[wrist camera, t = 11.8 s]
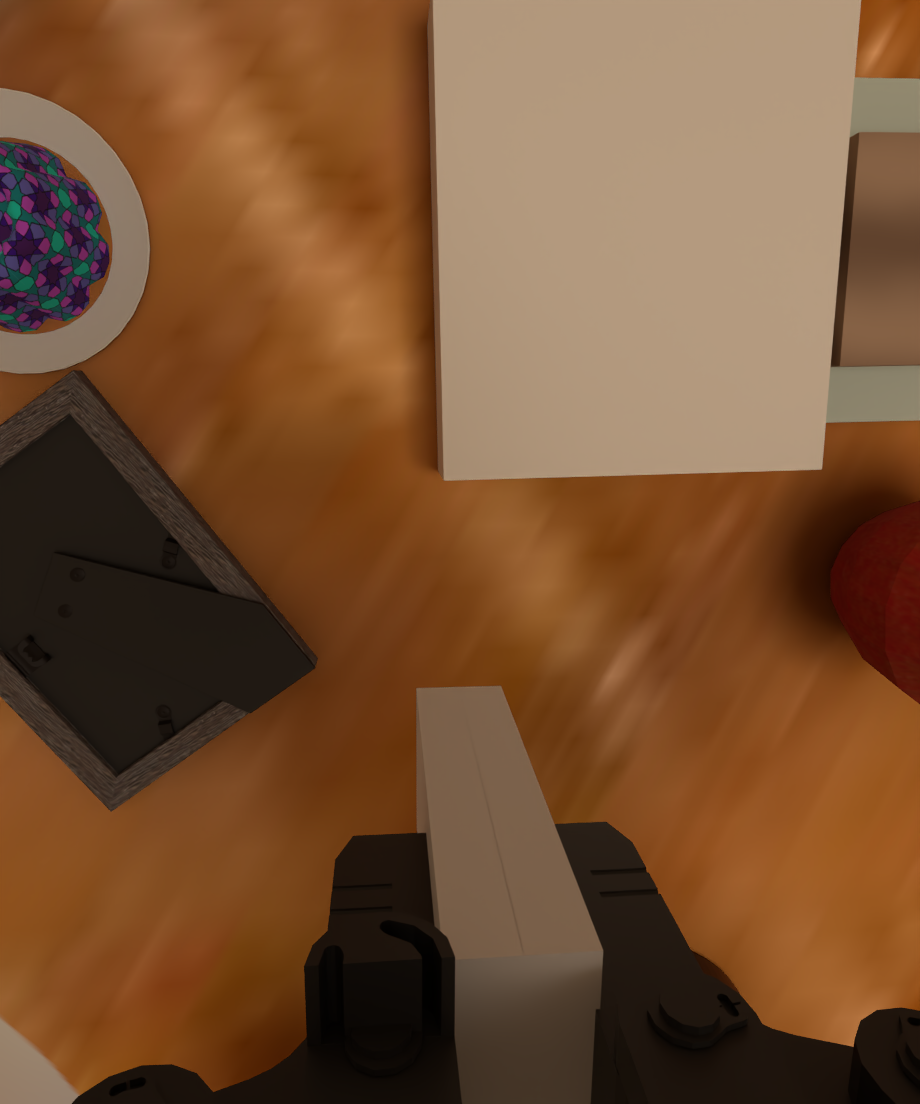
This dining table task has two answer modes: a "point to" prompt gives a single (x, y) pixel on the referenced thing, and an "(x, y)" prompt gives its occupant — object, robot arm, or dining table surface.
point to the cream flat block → (636, 232)
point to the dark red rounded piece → (883, 594)
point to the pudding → (63, 237)
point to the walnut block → (879, 254)
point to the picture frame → (122, 601)
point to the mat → (878, 386)
